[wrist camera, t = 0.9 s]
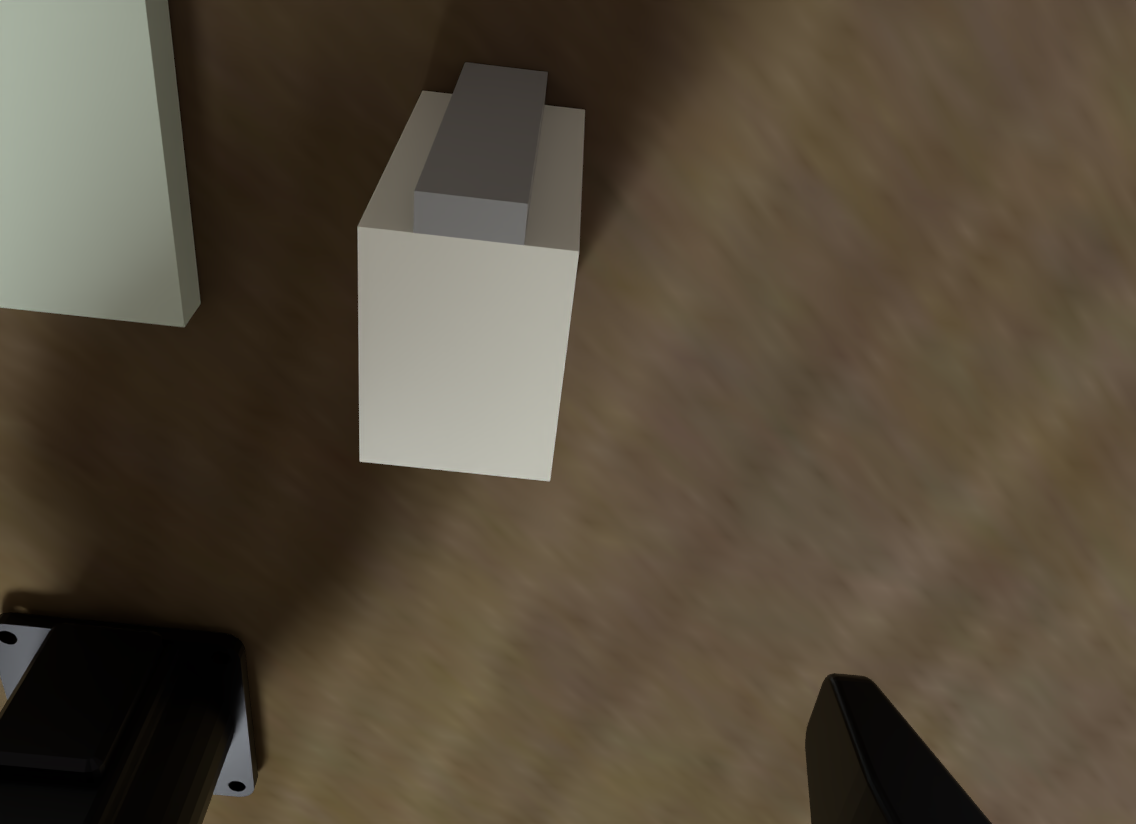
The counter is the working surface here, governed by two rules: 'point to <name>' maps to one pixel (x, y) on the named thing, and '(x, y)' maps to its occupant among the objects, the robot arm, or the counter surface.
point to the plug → (471, 279)
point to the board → (93, 163)
